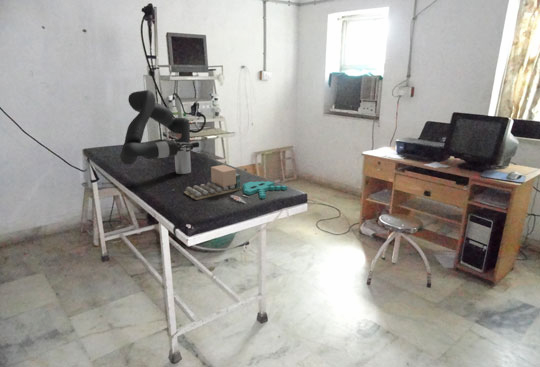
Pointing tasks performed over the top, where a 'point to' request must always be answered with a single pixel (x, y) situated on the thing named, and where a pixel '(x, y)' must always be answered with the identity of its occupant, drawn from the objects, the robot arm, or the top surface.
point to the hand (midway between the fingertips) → (198, 144)
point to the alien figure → (260, 188)
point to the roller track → (211, 189)
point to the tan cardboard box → (223, 175)
